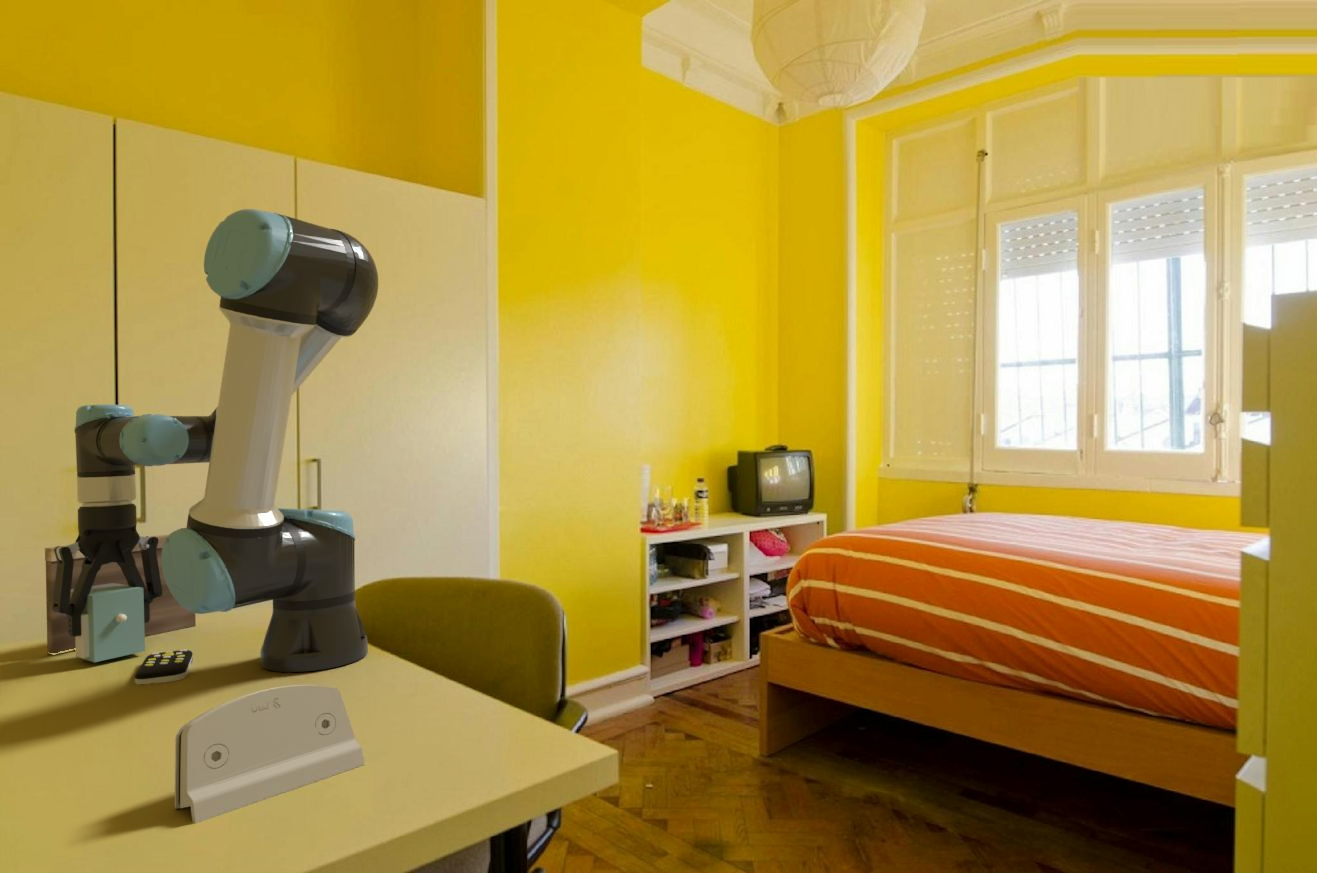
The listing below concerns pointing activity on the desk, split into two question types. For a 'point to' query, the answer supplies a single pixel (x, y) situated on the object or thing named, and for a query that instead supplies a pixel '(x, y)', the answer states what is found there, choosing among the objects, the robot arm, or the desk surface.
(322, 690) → the grey mounting bracket
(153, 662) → the remote control
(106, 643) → the cabinet
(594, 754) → the desk surface
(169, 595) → the wall board
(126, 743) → the desk surface
